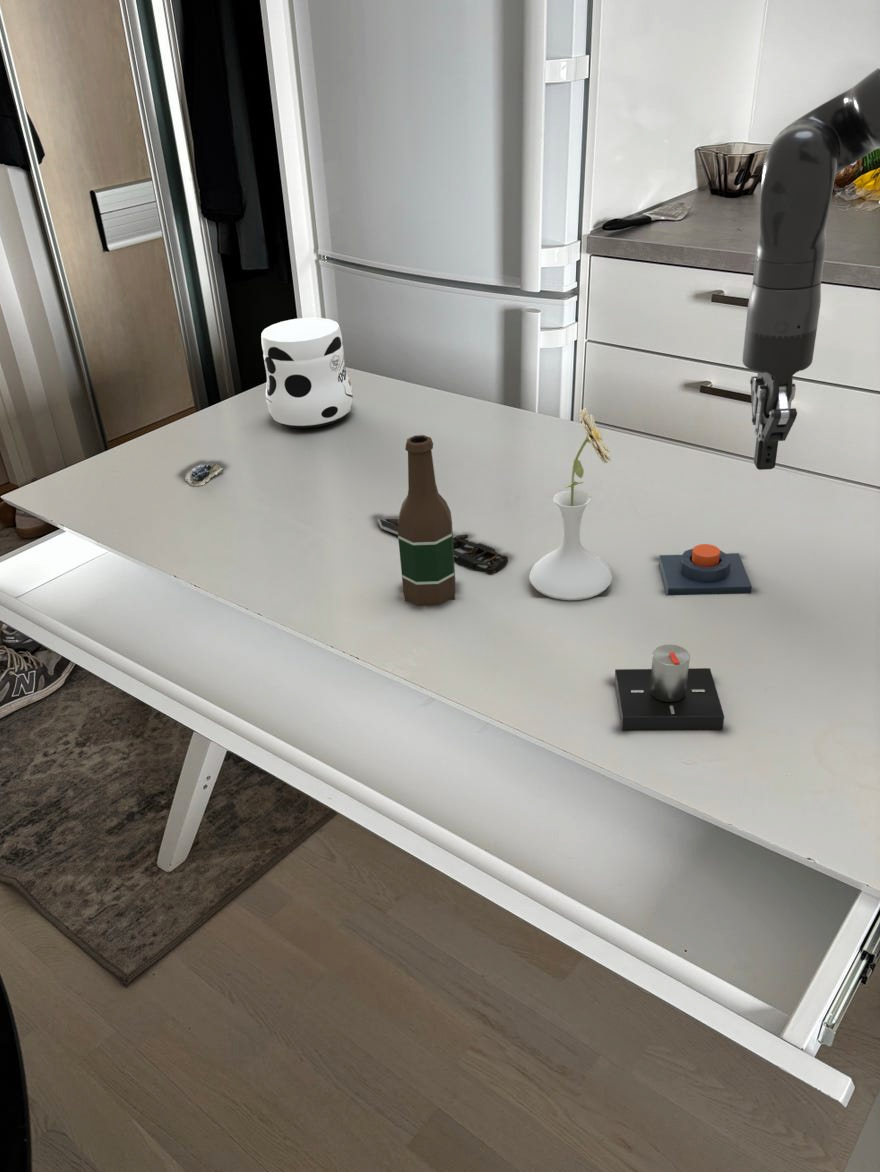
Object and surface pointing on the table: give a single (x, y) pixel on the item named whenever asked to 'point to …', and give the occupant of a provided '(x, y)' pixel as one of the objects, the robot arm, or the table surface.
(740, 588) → the button block
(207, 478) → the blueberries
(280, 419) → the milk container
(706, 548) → the button
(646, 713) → the hob panel
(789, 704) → the table surface
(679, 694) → the hob knob
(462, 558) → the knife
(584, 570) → the flower in vase
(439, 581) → the beer bottle
